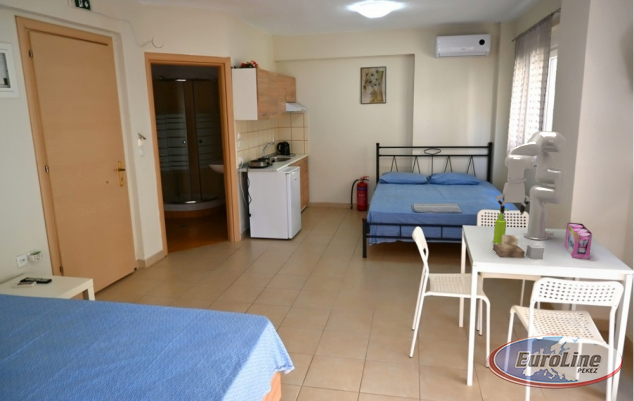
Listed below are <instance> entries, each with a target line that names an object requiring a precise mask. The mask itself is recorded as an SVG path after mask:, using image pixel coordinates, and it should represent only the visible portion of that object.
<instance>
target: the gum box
mask: <svg viewBox="0 0 634 401" xmlns="http://www.w3.org/2000/svg"><path fill="white" fill-rule="evenodd" d="M592 237H593V233H592V232H591V231H590V230H589V229H588V228H587V227H586V226H585V225H584V224H583V223H580V222H566V230H565V240H564V247H565V248H566V250H567V252H568V253H569V254H570V256H571V258H572V259H573V258H575V259H583V260H590V254H591V247H592V241H593V240H592V239H593V238H592Z"/></svg>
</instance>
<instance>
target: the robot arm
mask: <svg viewBox="0 0 634 401" xmlns="http://www.w3.org/2000/svg"><path fill="white" fill-rule="evenodd" d="M567 145H568V142H567V139H566V138H565V136H563V134H561V133H560V132H558V131H547V130H545V131H544V130H542V131H541V130H539V131H535V132H534V133H533V134H532V135H531V137H529V139H528V141H526V143H524V144H522V145H519V146H518V145H517V146H516V147H514V148H512V149H511V150H510V151H509V152H508V154H507V155H506V157H505V159H504V165H505V167H506V169H507V179H506V180H507V182H505V183H504V185H503V190H502V194H500V195H498V196H495V199H496V201H497V203H498V204H499V205H500V207H499V209H500V210H499V212H500V211H501V213H503V214H504V215H505V211H506V210H505V209H506V206H505V205H506V204H507V203H509V204H510V203H511V204H513V203H514V204H520V206H519V207H520V209H519V213H520V214H521V215H524V213H525V212H526V211H525V209H526V207H527V205H529V214H528V222H527V230H526V233H524V235H523V237H525V238H526V239H529V240H534V241H546V240H548V236H554V234H555V233H554V232H553V231H548V230H546V227H547V221H548V220H547V219H548V212H549V211H548V207H547V204H545V203H548V204H556V205H558V204H561V203H562V201H563V199H564V192H565V189H566V188H565V187H566V183H567V182H566V181H567V172H566V170H565V169H564V168H560V167H554V163H555V157H554V156H553V154H552V153H563V152H564V151H565V150H566V149H567ZM536 156H537V163H536V161H535V158H534V157H536ZM535 165H536V169H535V182H536V183H540V185H539V184H536V185H533V186H531V187H530V190H529V196H528V195H527V194H526V188H525V183H524V182H527V178H524V177H525V171H530V170H532V169H533V168H534V166H535ZM542 184H545V185H542ZM546 184H548V185H549V186H548V185H546ZM550 185H554V186H550ZM525 199H526V200H525Z"/></svg>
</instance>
